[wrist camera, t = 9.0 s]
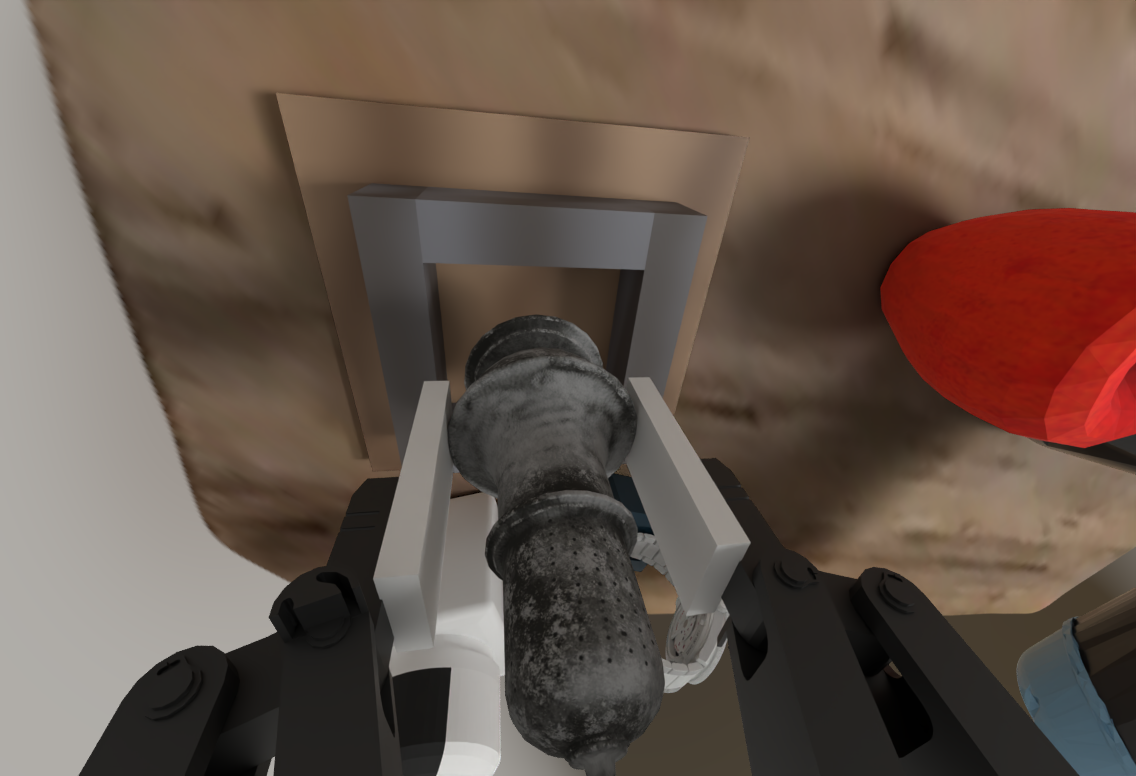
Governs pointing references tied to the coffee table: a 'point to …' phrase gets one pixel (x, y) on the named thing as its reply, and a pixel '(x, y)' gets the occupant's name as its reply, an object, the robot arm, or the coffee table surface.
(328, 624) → the robot arm
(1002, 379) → the apple
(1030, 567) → the coffee table surface
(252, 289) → the coffee table surface
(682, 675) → the watch
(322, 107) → the holder
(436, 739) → the container
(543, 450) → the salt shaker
